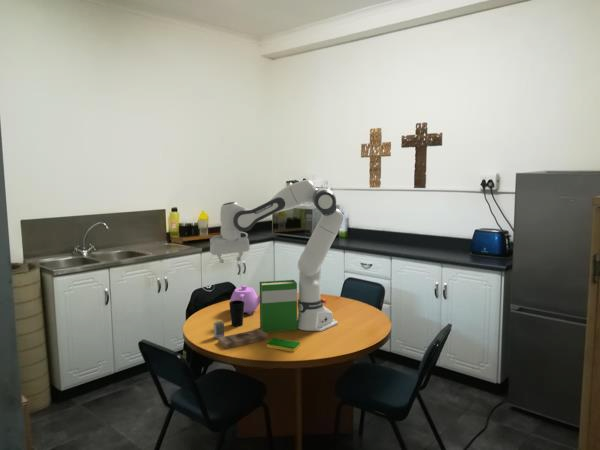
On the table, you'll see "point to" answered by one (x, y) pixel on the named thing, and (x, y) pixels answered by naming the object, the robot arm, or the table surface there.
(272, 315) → the hardback book
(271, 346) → the dish sponge
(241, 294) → the teapot
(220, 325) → the lever cap
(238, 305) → the cup
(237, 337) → the brown flat board
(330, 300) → the table surface
